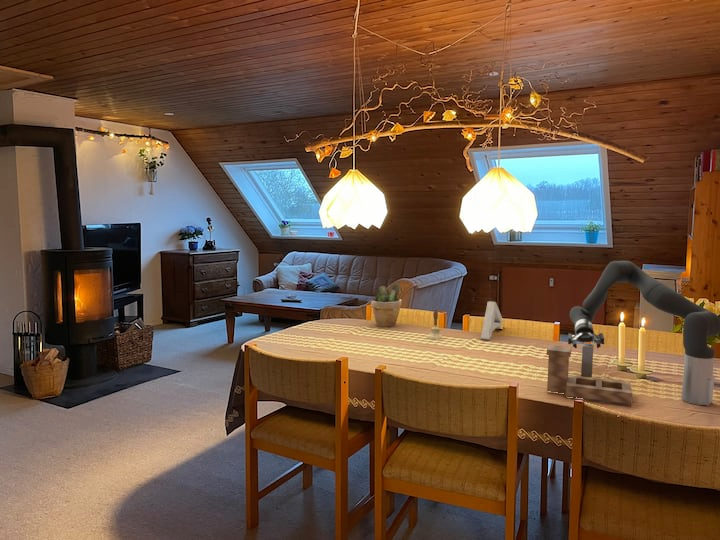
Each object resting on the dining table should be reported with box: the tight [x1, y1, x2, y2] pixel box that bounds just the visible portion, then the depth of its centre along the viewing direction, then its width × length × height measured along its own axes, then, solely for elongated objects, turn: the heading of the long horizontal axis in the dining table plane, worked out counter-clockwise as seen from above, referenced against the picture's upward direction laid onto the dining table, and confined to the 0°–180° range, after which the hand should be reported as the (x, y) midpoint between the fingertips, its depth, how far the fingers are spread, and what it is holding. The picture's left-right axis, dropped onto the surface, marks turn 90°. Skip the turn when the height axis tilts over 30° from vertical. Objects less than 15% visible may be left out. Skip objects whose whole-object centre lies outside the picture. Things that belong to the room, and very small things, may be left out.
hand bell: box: [427, 308, 444, 340], centre depth 302 cm, size 8×8×16 cm
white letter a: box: [480, 300, 504, 341], centre depth 312 cm, size 22×4×30 cm
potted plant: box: [370, 283, 403, 328], centre depth 332 cm, size 18×19×25 cm
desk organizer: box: [546, 344, 633, 408], centre depth 210 cm, size 30×14×17 cm, turn 67°
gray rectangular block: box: [580, 343, 595, 378], centre depth 223 cm, size 4×5×16 cm
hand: (586, 346), depth 229 cm, fingers open, 8 cm apart
